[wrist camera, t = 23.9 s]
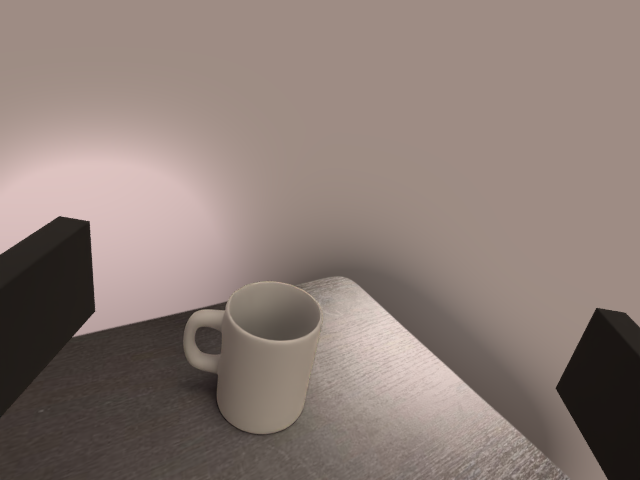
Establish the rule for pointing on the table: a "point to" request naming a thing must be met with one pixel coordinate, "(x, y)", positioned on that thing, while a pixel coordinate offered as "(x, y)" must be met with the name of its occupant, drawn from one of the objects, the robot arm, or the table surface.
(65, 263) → the robot arm
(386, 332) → the table surface
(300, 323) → the mug
